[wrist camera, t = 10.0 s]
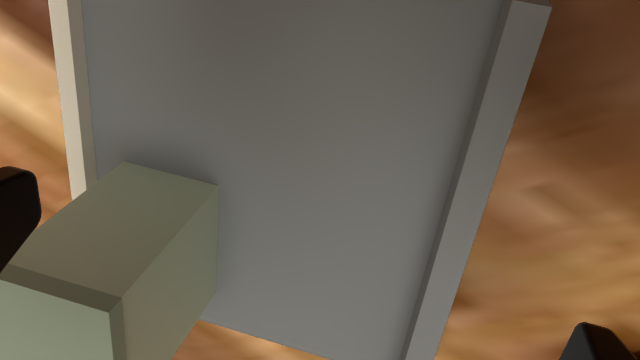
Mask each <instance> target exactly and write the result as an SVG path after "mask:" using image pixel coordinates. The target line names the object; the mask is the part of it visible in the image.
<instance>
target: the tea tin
mask: <svg viewBox="0 0 640 360" xmlns="http://www.w3.org/2000/svg"><path fill="white" fill-rule="evenodd" d="M218 206H219V186H218V185H214V184H210V183H206V182H202V181H199V180H195V179H191V178H187V177H183V176H179V175H175V174H171V173H167V172H163V171H159V170H155V169H151V168H147V167H143V166H140V165H136V164H132V163H128V162H124V161H123V162H122V163H120V164H119V165H118V166H117V167H115V168H114V169H113V170H111V171H110V172H109V173H108V174H106V175H105V176H104V177H102V178H101V179H100V180H99V181H97V182H96V183H95V184H93V185H92V186H91V187H90V188H88V189H87V190H86V191H84V192H83V193H82V194H81V195H79V196H78V197H77V198H75V199H74V200H73V201H72V202H70V203H69V204H68V205H66V206H65V207H64V208H63V209H61V210H60V211H59V212H57V213H56V214H55V215H54V216H52V217H51V218H50V219H48V220H47V221H46V222H45V223H43V224H42V225H41V226H39V227H38V228H37V229H36V230H34V231H33V232H32V233H31V235H30V236H29V237H28V238H27V240H26V241H25V242H24V244H23V245H22V246H21V247H20V249H19V250H18V251H17V253H16V254H15V255H14V256H13V258H12V259H11V260H10V262H9V263H8V264H7V265H6V267H5V268H4V269H3V271H2V272H1V273H0V360H172V358H173V357H174V355H175V353H176V352H177V350H178V349H179V347H180V346H181V344H182V343H183V341H184V340H185V338H186V337H187V335H188V334H189V332H190V331H191V329H192V328H193V326H194V325H195V323H196V322H197V320H198V319H199V317H200V316H201V314H202V312H203V311H204V309H205V308H206V306H207V305H208V303H209V302H210V300H211V299H212V297H213V296H214V294H215V293H216V265H217V235H218Z"/></svg>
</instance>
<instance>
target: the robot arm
mask: <svg viewBox="0 0 640 360" xmlns="http://www.w3.org/2000/svg"><path fill="white" fill-rule="evenodd" d="M41 213H42V212H41V204H40V198H39V191H38V185H37V179H36V177H35V175H34V174H33V173H32V172H30V171H28V170H24V169H20V168H17V167H12V166H7V167H2V168H0V273H1V272H2V271H3V269H4V268H5V267H6V265H7V264H8V263H9V262H10V260H11V259H12V258H13V256H14V255H15V254H16V253H17V251H18V250H19V249H20V247H21V246H22V245H23V244H24V242H25V241H26V240H27V238H28V237H29V236H30V235H31V233H32V232H33V231H34V229H35V228H36V227H37V225H38V223H39V221H40V219H41ZM559 360H637V359H636V357H635V356H634V355H633V354H632V353H631V352H630V351H629V349H628V348H627V347H626V346H625V345H624V344H623V343H622V341H621V340H620V339H619V338H618V337H617V336H616V335H615V334H614V333H613V332H612V331H611V330H610V329H608V328H605V327H601V326H598V325H594V324H590V323H587V322H582V323H579V324H578V325H577V326H576V327H575V329H574V331H573V333H572V335H571V337H570V339H569V341H568V343H567V345H566V347H565V349H564V351H563V353H562V355H561V357H560V359H559Z"/></svg>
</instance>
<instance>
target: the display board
mask: <svg viewBox="0 0 640 360" xmlns="http://www.w3.org/2000/svg"><path fill="white" fill-rule="evenodd" d="M48 4H49V13H50V21H51V29H52V37H53V46H54V54H55V62H56V71H57V79H58V87H59V96H60V104H61V112H62V121H63V129H64V137H65V145H66V154H67V162H68V170H69V179H70V187H71V195H72V201H73V200H74V199H75V198H77V197H78V196H79V195H81V194H82V193H83V192H84V191H86V190H87V189H88V188H90V187H91V186H92V185H93V184H95V183H96V182H97V181H99V180H100V179H101V178H102V177H104V176H105V175H106V174H108V173H109V172H110V171H111V170H113V169H114V168H115V167H117V166H118V165H119V164H120V163H122V162H123V161H124V162H128V163H132V164H136V165H140V166H143V167H147V168H151V169H155V170H159V171H163V172H167V173H171V174H175V175H179V176H183V177H187V178H191V179H195V180H199V181H202V182H206V183H210V184H214V185H218V186H219V206H218V235H217V265H216V293H215V294H214V296H213V297H212V299H211V300H210V302H209V303H208V305H207V306H206V308H205V309H204V311H203V312H202V314H201V316H200V317H199V320H202V321H206V322H209V323H212V324H216V325H219V326H222V327H225V328H229V329H232V330H235V331H239V332H242V333H245V334H248V335H252V336H255V337H258V338H262V339H265V340H268V341H271V342H275V343H278V344H281V345H285V346H288V347H291V348H294V349H298V350H301V351H304V352H308V353H311V354H314V355H317V356H321V357H324V358H327V359H331V360H434V358H435V355H436V352H437V349H438V346H439V343H440V340H441V337H442V334H443V331H444V328H445V325H446V322H447V319H448V316H449V313H450V310H451V307H452V304H453V301H454V298H455V295H456V292H457V289H458V286H459V284H460V281H461V278H462V275H463V272H464V269H465V266H466V263H467V260H468V257H469V254H470V251H471V248H472V245H473V242H474V239H475V236H476V233H477V230H478V227H479V224H480V221H481V218H482V215H483V212H484V209H485V206H486V203H487V200H488V197H489V194H490V191H491V188H492V185H493V182H494V179H495V177H496V174H497V171H498V168H499V165H500V162H501V159H502V156H503V153H504V150H505V147H506V144H507V141H508V138H509V135H510V132H511V129H512V126H513V123H514V120H515V117H516V114H517V111H518V108H519V105H520V102H521V99H522V96H523V93H524V90H525V87H526V84H527V81H528V78H529V75H530V72H531V69H532V67H533V64H534V61H535V58H536V55H537V52H538V49H539V46H540V43H541V40H542V37H543V34H544V31H545V28H546V25H547V22H548V19H549V16H550V13H551V10H552V5H551V3H550V1H549V0H48Z"/></svg>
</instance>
